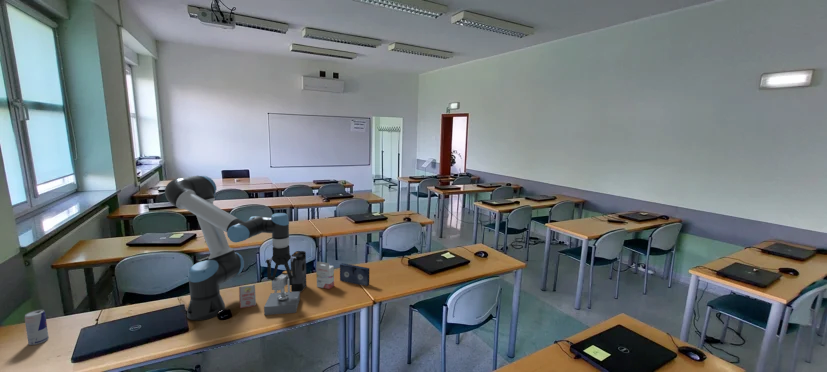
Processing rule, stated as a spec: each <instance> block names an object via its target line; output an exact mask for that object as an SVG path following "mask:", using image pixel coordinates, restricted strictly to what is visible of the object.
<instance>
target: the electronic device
mask: <svg viewBox="0 0 827 372" xmlns="http://www.w3.org/2000/svg"><path fill="white" fill-rule="evenodd" d="M306 254H307V253H306V251H304V250H298V251H297V250H296V251H295V252H294V253H292V254H290V255H291V256H292V257H296V261H295V265H296V277H295V278H292V285H290V292H298V291H300V293H302V291H304V290H305V288H307V257H306V256H307V255H306ZM290 271H292V275H293V269H292V261H291V260H290Z"/></svg>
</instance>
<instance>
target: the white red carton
mask: <svg viewBox="0 0 827 372" xmlns="http://www.w3.org/2000/svg"><path fill="white" fill-rule="evenodd" d="M238 288H239V289H238V295H239V296H238V297H239V298H238V299H239V309H242V308H243V309H245V308H250V307H256V303H257V299H256V285H255V284H251V285H245V286H239V287H238Z"/></svg>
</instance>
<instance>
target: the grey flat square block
mask: <svg viewBox="0 0 827 372" xmlns="http://www.w3.org/2000/svg"><path fill="white" fill-rule="evenodd" d="M285 294H287V295H288V299H286V300H278V299H277V297H278V296H279V295H281V292H277V293H276V294H275V292H272V293H271V292H270V294H269V296H268V298H267V300H266V302H265V305H263V311H264V312H263V313H264V316H270V315H281V314H283V315H284V314H295V313H297V311H298V307H299V303H300V299H301V292H300V291H298V292H292V291H290V292H289V293H288V291H287V292H286V291H285Z"/></svg>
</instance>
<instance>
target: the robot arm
mask: <svg viewBox="0 0 827 372" xmlns="http://www.w3.org/2000/svg"><path fill="white" fill-rule="evenodd" d="M217 188H218V187H217V185H216V183H215V181H214V180H213V179H212V178H211V177H209V176H206V175H193V176H192V175H191V176H186V177H179V178H178V177H177V178H175V179H172V180H171V181H169V182H168V183H167V184H166V187H165V189H164V196H165V198H166V200H167V201H168V202H169V203H170V204H171V205H173V206H174V207H176V208H178V209H180V210H186V211H188V212H189V213H191V214H193V215H195V216H196V218H197V219H196V220H197V221H198V224H199V227H200V229H201V232H202V234H203V238H204V240H205V243H206V246H207V248H208V250H209V253H210V254H209V257H208V259H207V260H206V259H205V260H203V261H198V262H196V263H195V264H193V265H192V266H190V268H189V269H188V276H187V277H188V285H189V286H188V287H189V293H190V294H189V296H190V297H189V298H190V300H189V303H188V306H187V310H186V316H187V319H189V320H190V321H204V320H209V319H212V318H215V317H217V316H218V315H217V314H218V312H219V311H221V310H224V309H226V304H225V302H224V300H223V297H222V296H221V291H220V285H222V284H224V283H226V282H228V281H229V280H231V279H234V278H235V277H237V276H238V275H239V274H241V272H242V271H243V270H244V267H245V261H244V258H243V255H241V254H240V253H239V252H235V249H234V248H232V247H230V245H229V242H228V239H229V241H230V242H233V243H240V242H243V241H246V240H248V239H250V238H252V237H255V236H257V235H260V234H263V233H264V234H271V241H272V242H271V243H272V257H267V258H266V260H265V262H266V269H267V272H266V273H267V276H266V277H267V280H268V281H269V280H270V281H272V280H274V279H275V278H276V275H277V272H278V268H279V266H284V268H285V271H287V274H288V277H289V278H288V284H287V292H288V293H289V292H291V285H292V278H295V277H296V265H295V261H296V257H292V256H291V255H292V254H291V253H290V222H289V221H290V220H289V215H288V214H287V213H285V212H275V213H273V214H272V215H271V216H261V215H255V216H253V215H252V216H250V217H249V219H248V220H246V221H243V220H241V219H240V218H238V217H236V216H235V215H233V214H231V213H229V212H227V211H225V210H224V209H222V208H220V207H218V206H217V205H215V204H214V202H215V200H216V198H215V195H216V194H217ZM225 233H226V234H225ZM226 235H227V237H226ZM227 238H228V239H227ZM289 261H290V262H291V261H292V269H293V275H292V274H291V267H290V266H289ZM273 262H274V263H275V264H274V269H273V272H272V263H273ZM274 293H275V294H276V293H278V290H274ZM224 311H225V310H224Z"/></svg>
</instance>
